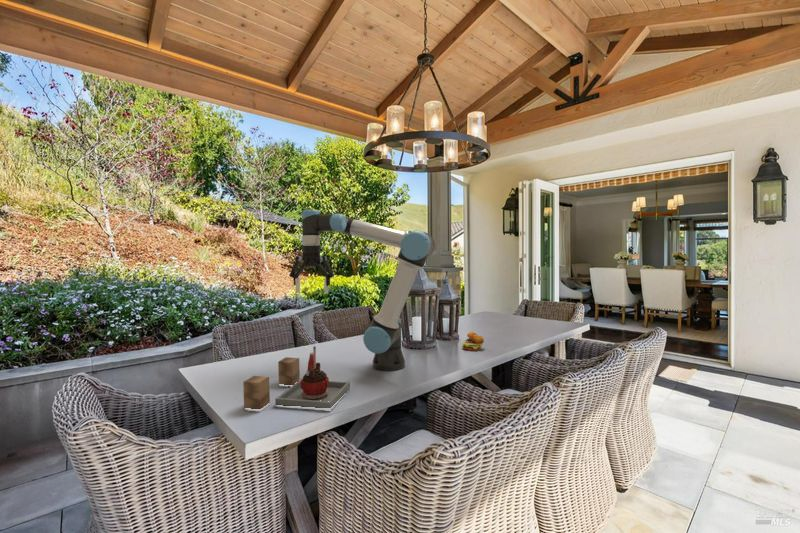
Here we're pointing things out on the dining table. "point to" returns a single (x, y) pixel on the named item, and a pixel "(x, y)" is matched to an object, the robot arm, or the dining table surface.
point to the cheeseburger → (473, 342)
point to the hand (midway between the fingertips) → (312, 293)
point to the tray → (296, 399)
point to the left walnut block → (256, 392)
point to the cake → (314, 379)
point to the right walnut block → (289, 371)
